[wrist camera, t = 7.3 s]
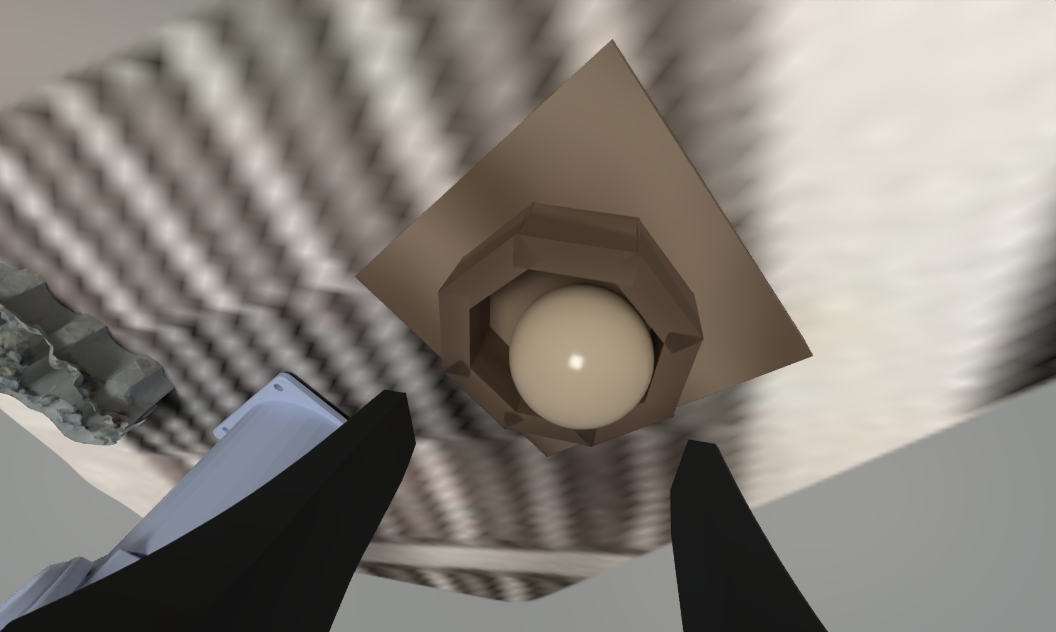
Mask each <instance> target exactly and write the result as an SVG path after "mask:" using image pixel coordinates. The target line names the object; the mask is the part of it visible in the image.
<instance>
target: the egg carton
mask: <svg viewBox="0 0 1056 632" xmlns="http://www.w3.org/2000/svg"><path fill="white" fill-rule="evenodd" d="M174 387H175V386H174V385H173V384H172V383H171V382H170V381H169V380H168V379H167V378H166V376H165V375H164V373H163V367H162V366H161V365H160V364H159V363H158V362H157V361H155V360H154V359H153V358H151V357H150V356H148V355H135V354H132V353H130V352H128V351H126V350H124V349H123V348H121V347H120V346H119V345H117V344H116V343H115V342H114V340H113V339H112V338H111V337H110V335H109V333H108V331H107V325H105V324H104V323H102V322H101V321H99V320H97V319H96V318H94V317H92V316H91V315H89V314H85V315H82V314H76V313H74V312H72V311H70V310H68V309H66V308H65V307H63V306H62V305H61V304H60V303H58V302H57V301H56V300H55V299H54V298H53V297H52V295H51V294H50V292H49V291H48V289H47V286H46V282H45V281H44V280H43V279H42V278H40V277H39V276H38V275H36V274H35V273H33V272H32V271H30V270H29V269H27V268H25V269H23V270H16V269H13V268H10V267H8V266H6V265H4V264H2V263H0V393H4V394H7V395H11V396H12V397H14V398H16V399H18V400H19V401H20V402H22V403H23V404H24V405H26V406H27V407H28V408H30V409H33V410H36V411H38V412H41V413H43V414H44V415H45V416H47V417H48V418H49V419H50V420H51V421H52V422H53V423H54V424H55V425H56V427H57V428H58V429H59V430H60V431H61V432H62V433H63V435H64V436H66V437H68V438H70V439H71V440H73V441H75V442H80V443H84V444H94V445H113V444H116V443H117V442H116V441H118V440H119V439H121V438H122V437H124V436H125V435H126V434H125V433H126V432H128V431H129V430H131V429H133V428H135V427H137V426H139V425H140V424H142V423H143V422H144V421H145V420H146V418H145V417H146V416H147V415H149V414H150V413H151V412H152V411H153V410H154V409H155V408H156V407H157V405H156V404H155V403H157V402H158V401H159V400H160V399H162V398H163V397H164V396H165V395H166V394H167V393H169V392H170V391H171V390H172V389H173V388H174Z"/></svg>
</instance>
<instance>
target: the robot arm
mask: <svg viewBox="0 0 1056 632" xmlns="http://www.w3.org/2000/svg"><path fill="white" fill-rule="evenodd" d="M213 433H214V435H215V436H216V437H217V438H219V439H220V441H219V442H218V443H217V444H216V445H215V446H214V447H213V448H212V449H211V450H210V451H209V452H208V453H207V454H206V455H205V456H204V457H203V458H202V459H201V460H200V461H199V462H198V463H197V464H196V465H195V466H194V467H193V468H192V469H191V470H190V471H189V472H188V473H187V474H186V475H185V476H184V477H183V478H182V479H181V480H180V481H179V482H178V484H177V485H176V486H175V487H174V488H173V489H172V490H171V491H170V492H169V493H168V494H167V495H166V496H165V497H164V498H163V499H162V500H161V501H160V502H159V503H158V504H157V505H156V506H155V507H154V508H153V509H152V510H151V511H150V512H149V513H148V514H147V515H146V516H145V517H144V518H143V519H142V520H141V521H140V522H139V523H138V525H136V526H135V527H134V528H133V529H132V531H130V532H129V533H128V535H127V536H126V537H125V538H124V539H123V540H122V541H121V542H120V543H119V544H118V545H117V546H116V547H115V548H114V549H113V550H112V551H111V552H110V553H109V554H108V555H106V556H104V557H102V558H100V559H97V560H95V561H93V562H91V561H89V560H87V559H85V558H83V557H76V558H73V559H72V560H70V561H69V562H67V561H66V562H61V563H58V564H53V565H50V566H48V567H46V568H45V569H43V570H42V571H41V572H40V573H38V574H37V575H36V576H35V577H33V578H32V579H31V580H30V581H29V582H27V583H26V584H25V585H24V586H23V587H21V588H20V589H19V590H18V591H17V592H16V593H15V594H13V595H12V596H11V597H10V598H9V599H8V600H7V601H5V602H4V603H3V604H2V605H1V606H0V632H329V631H330V629H331V626H332V624H333V621H334V619H335V616H336V614H337V612H338V609H339V607H340V604H341V602H342V600H343V597H344V595H345V592H346V590H347V588H348V585H349V583H350V581H351V578H352V576H353V573H354V572H355V570H356V568H357V566H358V564H359V562H360V560H361V558H362V556H363V554H364V552H365V550H366V549H367V547H368V545H369V543H370V541H371V539H372V537H373V535H374V533H375V531H376V530H377V528H378V526H379V524H380V522H381V520H382V518H383V516H384V514H385V512H386V511H387V509H388V507H389V505H390V503H391V501H392V499H393V497H394V495H395V493H396V491H397V489H398V487H399V485H400V483H401V481H402V479H403V477H404V474H405V472H406V469H407V467H408V464H409V462H410V459H411V456H412V453H413V451H414V448H415V445H416V441H415V436H414V431H413V426H412V421H411V416H410V411H409V406H408V401H407V396H406V393H402V392H396V391H390V390H383V391H382V392H381V393H380V394H378V395H377V396H376V397H375V398H374V399H372V400H371V401H370V402H369V403H368V404H366V405H365V406H364V407H363V408H362V409H360V410H359V411H358V412H357V413H356V414H354V415H353V416H352V417H351V418H350V419H348V420H347V419H346V418H344V417H343V416H342V415H340V414H339V413H338V412H337V411H335V410H334V409H333V408H332V407H330V406H329V405H328V404H327V403H325V402H324V401H323V400H322V399H320V398H319V397H318V396H316V395H315V394H314V393H313V392H311V391H310V390H309V389H308V388H306V387H305V386H304V385H303V384H301V383H300V382H299V381H298V380H296V379H295V378H294V377H292V376H291V375H289V374H287V373H280V374H278V375H277V376H276V377H275V378H274V379H272V380H271V381H270V382H269V383H268V384H267V385H265V386H264V387H263V388H262V389H261V390H260V391H258V392H257V393H256V394H255V395H254V396H252V397H251V398H250V399H249V400H248V401H247V402H245V403H244V404H243V405H242V406H241V407H240V408H238V409H237V410H236V411H235V412H234V413H233V414H231V415H230V416H229V417H228V418H227V419H225V420H224V421H223V422H222V423H221V424H220V425H218V426H217V427H216V428H215V429H214V431H213ZM670 499H671V537H672V545H673V553H674V561H675V570H676V578H677V584H678V593H679V601H680V608H681V616H682V625H683V632H828V631H827V630H826V629H825V627H824V626H823V624H822V623H821V621H820V620H819V618H818V617H817V616H816V614H815V613H814V611H813V610H812V608H811V607H810V606H809V604H808V602H807V601H806V600H805V598H804V597H803V595H802V594H801V592H800V591H799V589H798V587H797V586H796V584H795V583H794V581H793V580H792V578H791V577H790V575H789V573H788V572H787V571H786V569H785V567H784V566H783V564H782V562H781V561H780V559H779V558H778V556H777V554H776V553H775V551H774V550H773V548H772V546H771V545H770V543H769V541H768V539H767V538H766V536H765V534H764V533H763V531H762V529H761V527H760V526H759V524H758V522H757V521H756V519H755V517H754V515H753V514H752V512H751V510H750V508H749V506H748V505H747V503H746V501H745V499H744V497H743V495H742V493H741V492H740V490H739V488H738V486H737V484H736V482H735V480H734V478H733V476H732V474H731V472H730V470H729V468H728V466H727V464H726V462H725V460H724V458H723V456H722V454H721V452H720V450H719V448H718V447H717V446H716V444H712V443H706V442H700V441H694V440H688V442H687V445H686V448H685V451H684V453H683V456H682V459H681V462H680V465H679V467H678V470H677V473H676V476H675V479H674V482H673V484H672V487H671V490H670Z"/></svg>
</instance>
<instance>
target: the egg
mask: <svg viewBox="0 0 1056 632" xmlns="http://www.w3.org/2000/svg"><path fill="white" fill-rule="evenodd" d="M509 366H510V371H511V375H512V379H513V381H514V384H515V386H516V389H517V391H518V392H519V394H520V395H521V397H522V398H523V400H524V401H525V402H526V404H527V405H528V406H529V407H530V408H531V409H532V410H533V411H534V412H535V413H537V414H538V415H539V416H541V417H542V418H544V419H546V420H547V421H549V422H551V423H553V424H556V425H559V426H562V427H565V428H570V429H595V428H600V427H604V426H606V425H609V424H612V423H614V422H616V421H617V420H619V419H621V418H622V417H624V416H625V415H627V414H628V413H629V412H630V411H631V410H633V409H634V407H635V406H636V405H637V404H638V403H639V401H640V400H641V399H642V397H643V396H644V394H645V392H646V391H647V388H648V386H649V383H650V381H651V378H652V374H653V369H654V347H653V342H652V338H651V335H650V332H649V329H648V327H647V325H646V323H645V321H644V320H643V318H642V317H641V315H640V314H639V313H638V311H637V310H636V309H635V308H634V307H633V306H632V305H631V304H630V303H629V302H628V301H627V300H625V299H624V298H622V297H621V296H619V295H618V294H616V293H614V292H612V291H610V290H608V289H604V288H601V287H597V286H592V285H583V284H580V285H569V286H564V287H561V288H557V289H555V290H552V291H550V292H548V293H546V294H544V295H542V296H541V297H539V298H538V299H537V300H535V301H534V302H533V303H532V304H531V305H530V306H529V307H528V308H527V309H526V310H525V312H524V313H523V314H522V316H521V317H520V319H519V320H518V322H517V324H516V326H515V329H514V331H513V334H512V337H511V341H510V348H509Z"/></svg>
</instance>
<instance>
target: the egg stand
mask: <svg viewBox="0 0 1056 632" xmlns="http://www.w3.org/2000/svg"><path fill="white" fill-rule="evenodd" d="M355 277H356V278H357V279H358V280H359V281H360V282H361V283H362V284H363V285H364V286H365V287H367V288H368V289H369V290H370V291H371V292H372V293H373V294H374V295H375V296H376V297H377V298H378V299H379V300H380V301H381V302H383V303H384V304H385V305H386V306H387V307H388V308H389V309H390V310H391V311H392V312H393V313H394V314H395V315H396V316H397V317H399V318H400V319H401V320H402V321H403V322H404V323H405V324H406V325H407V326H408V327H409V328H410V329H411V330H412V331H413V332H415V333H416V334H417V335H418V336H419V337H420V338H421V339H422V340H423V341H424V342H425V343H426V344H427V345H428V346H429V347H431V348H432V349H433V350H434V351H435V352H436V353H437V354H438V355H439V356H440V357H441V358H442V364H443V370H442V371H443V372H444V373H445V374H446V375H447V376H448V377H450V378H451V379H452V380H453V381H454V382H455V383H456V384H457V385H458V386H459V387H460V388H461V389H463V390H464V391H465V392H466V393H467V394H468V395H469V396H470V397H471V398H472V399H473V400H474V401H476V402H477V403H478V404H479V405H480V406H481V407H482V408H483V409H484V410H485V411H486V412H487V413H488V414H490V415H491V416H492V417H493V418H494V419H495V420H496V421H497V422H498V423H499V424H500V425H501V426H503V428H505V429H510V430H515V431H519V432H521V433H522V434H523V435H524V436H525V437H526V438H528V439H529V440H530V441H531V442H532V443H533V444H534V445H535V446H536V447H537V448H538V449H539V450H540V451H541V452H542V453H544V454H545V455H546V456H550V455H553V454H555V453H558V452H560V451H563V450H566V449H568V448H571V447H574V446H576V445H579V444H581V445H586V446H590V447H593V446H594V445H597V444H600V443H602V442H605V441H608V440H611V439H613V438H616V437H619V436H621V435H624V434H627V433H630V432H632V431H635V430H638V429H640V428H643V427H646V426H649V425H651V424H654V423H657V422H659V421H662V420H665V419H668V418H670V417H673V416H674V412H675V409H676V408H677V407H679V406H682V405H685V404H687V403H690V402H693V401H695V400H698V399H700V398H703V397H706V396H708V395H711V394H714V393H716V392H719V391H722V390H724V389H727V388H730V387H732V386H735V385H737V384H740V383H743V382H745V381H748V380H751V379H753V378H756V377H759V376H761V375H764V374H767V373H769V372H772V371H774V370H777V369H780V368H782V367H785V366H788V365H790V364H793V363H796V362H798V361H801V360H804V359H806V358H809V357H811V356H813V355H812V353H811V351H810V349H809V347H808V345H807V344H806V342H805V340H804V338H803V336H802V335H801V333H800V332H799V330H798V329H797V327H796V325H795V324H794V322H793V321H792V319H791V318H790V316H789V315H788V313H787V311H786V310H785V308H784V307H783V305H782V304H781V302H780V300H779V299H778V297H777V296H776V294H775V293H774V291H773V289H772V288H771V286H770V285H769V283H768V282H767V280H766V279H765V277H764V275H763V274H762V272H761V271H760V269H759V268H758V266H757V264H756V263H755V261H754V260H753V258H752V257H751V255H750V253H749V252H748V250H747V249H746V247H745V246H744V244H743V243H742V241H741V239H740V238H739V236H738V235H737V233H736V232H735V230H734V228H733V227H732V225H731V224H730V222H729V221H728V219H727V217H726V216H725V214H724V213H723V211H722V210H721V208H720V207H719V205H718V203H717V202H716V200H715V199H714V197H713V196H712V194H711V192H710V191H709V189H708V188H707V186H706V185H705V183H704V181H703V180H702V178H701V177H700V175H699V174H698V172H697V171H696V169H695V167H694V166H693V164H692V163H691V161H690V160H689V158H688V156H687V155H686V153H685V152H684V150H683V149H682V147H681V145H680V144H679V142H678V141H677V139H676V138H675V136H674V135H673V133H672V131H671V130H670V128H669V127H668V125H667V124H666V122H665V120H664V119H663V117H662V116H661V114H660V113H659V111H658V110H657V108H656V106H655V105H654V103H653V102H652V100H651V99H650V97H649V95H648V94H647V92H646V91H645V89H644V88H643V86H642V84H641V83H640V81H639V80H638V78H637V77H636V75H635V74H634V72H633V70H632V69H631V67H630V66H629V64H628V63H627V61H626V59H625V58H624V56H623V55H622V53H621V52H620V50H619V48H618V47H617V45H616V44H615V42H614V41H613V39H612V40H611V41H610V42H609V43H608V44H607V45H606V46H604V47H603V48H602V49H601V50H600V51H599V52H598V53H597V54H596V55H595V56H594V57H593V58H591V59H590V60H589V61H588V62H587V63H586V64H585V65H584V66H583V67H582V68H581V69H580V70H578V71H577V72H576V73H575V74H574V75H573V76H572V77H571V78H570V79H569V80H568V81H567V82H565V83H564V84H563V85H562V86H561V87H560V88H559V89H558V90H557V91H556V92H555V93H554V94H552V95H551V96H550V97H549V98H548V99H547V100H546V101H545V102H544V103H543V104H542V105H540V106H539V107H538V108H537V109H536V110H535V111H534V112H533V113H532V114H531V115H530V116H529V117H527V118H526V119H525V120H524V121H523V122H522V123H521V124H520V125H519V126H518V127H517V128H516V129H514V130H513V131H512V132H511V133H510V134H509V135H508V136H507V137H506V138H505V139H504V140H503V141H501V142H500V143H499V144H498V145H497V146H496V147H495V148H494V149H493V150H492V151H491V152H489V153H488V154H487V155H486V156H485V157H484V158H483V159H482V160H481V161H480V162H479V163H478V164H476V165H475V166H474V167H473V168H472V169H471V170H470V171H469V172H468V173H467V174H466V175H465V176H463V177H462V178H461V179H460V180H459V181H458V182H457V183H456V184H455V185H454V186H453V187H452V188H450V189H449V190H448V191H447V192H446V193H445V194H444V195H443V196H442V197H441V198H440V199H439V200H437V201H436V202H435V203H434V204H433V205H432V206H431V207H430V208H429V209H428V210H427V211H425V212H424V213H423V214H422V215H421V216H420V217H419V218H418V219H417V220H416V221H415V222H414V223H412V224H411V225H410V226H409V227H408V228H407V229H406V230H405V231H404V232H403V233H402V234H401V235H399V236H398V237H397V238H396V239H395V240H394V241H393V242H392V243H391V244H390V245H389V246H388V247H386V248H385V249H384V250H383V251H382V252H381V253H380V254H379V255H378V256H377V257H376V258H374V259H373V260H372V261H371V262H370V263H369V264H368V265H367V266H366V267H365V268H364V269H363V270H362V271H360V272H359V273H358V274H357V275H356V276H355ZM580 284H583V285H592V286H597V287H601V288H604V289H608V290H610V291H612V292H614V293H616V294H618V295H619V296H621V297H622V298H624V299H625V300H627V301H628V302H629V303H630V304H631V305H632V306H633V307H634V308H635V309H636V310H637V311H638V313H639V314H640V315H641V317H642V318H643V320H644V321H645V323H646V325H647V327H648V329H649V332H650V335H651V338H652V342H653V347H654V369H653V374H652V378H651V381H650V383H649V386H648V388H647V391H646V392H645V394H644V396H643V397H642V399H641V400H640V401H639V403H638V404H637V405H636V406H635V407H634V409H633V410H631V411H630V412H629V413H628V414H627V415H625V416H624V417H622V418H621V419H619V420H617V421H616V422H614V423H612V424H609V425H606V426H604V427H600V428H595V429H570V428H565V427H562V426H559V425H556V424H553V423H551V422H549V421H547V420H546V419H544V418H542V417H541V416H539V415H538V414H537V413H535V412H534V411H533V410H532V409H531V408H530V407H529V406H528V405H527V404H526V402H525V401H524V400H523V398H522V397H521V395H520V394H519V392H518V391H517V389H516V386H515V384H514V381H513V379H512V375H511V371H510V366H509V348H510V341H511V337H512V334H513V331H514V329H515V326H516V324H517V322H518V320H519V319H520V317H521V316H522V314H523V313H524V312H525V310H526V309H527V308H528V307H529V306H530V305H531V304H532V303H533V302H534V301H535V300H537V299H538V298H539V297H541V296H542V295H544V294H546V293H548V292H550V291H552V290H555V289H557V288H561V287H564V286H569V285H580Z"/></svg>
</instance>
